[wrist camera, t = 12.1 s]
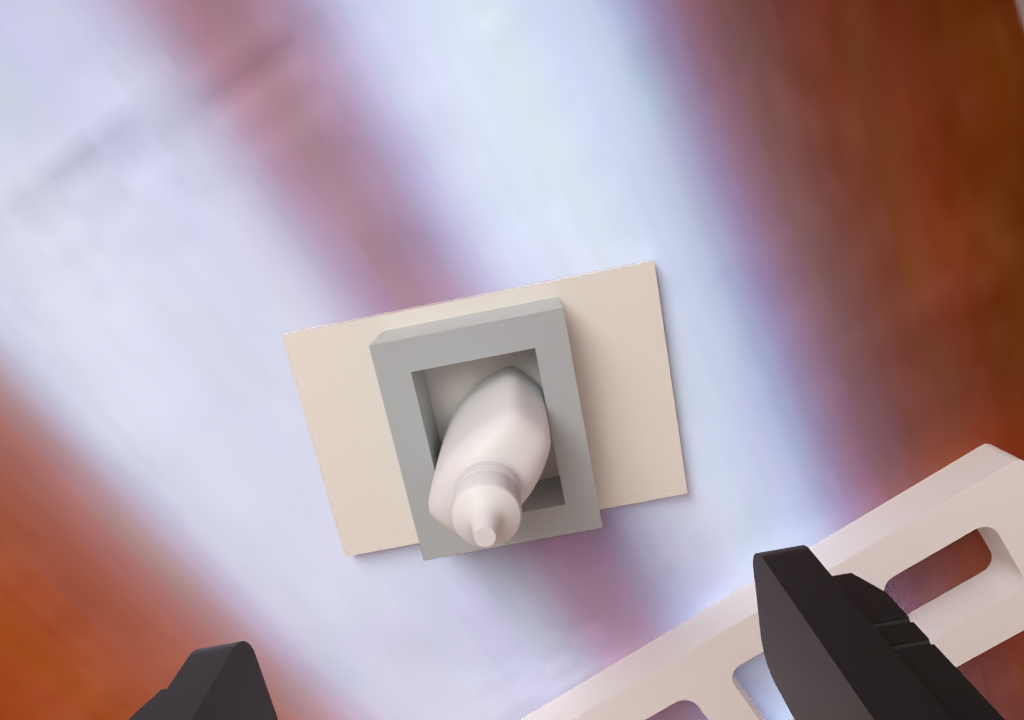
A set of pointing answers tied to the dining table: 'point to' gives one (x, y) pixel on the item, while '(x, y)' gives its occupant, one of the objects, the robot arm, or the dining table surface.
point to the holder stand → (462, 365)
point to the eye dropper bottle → (491, 458)
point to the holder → (853, 549)
